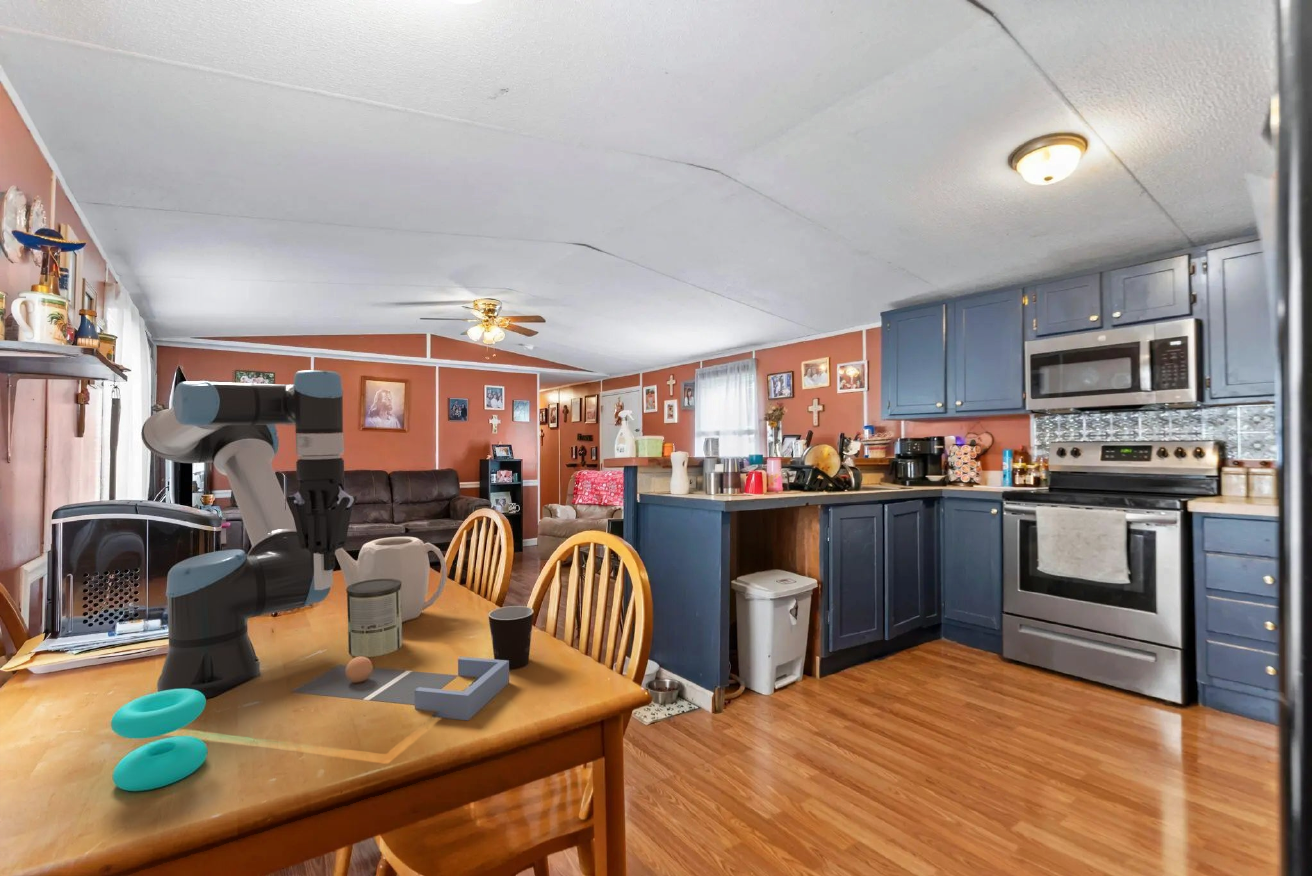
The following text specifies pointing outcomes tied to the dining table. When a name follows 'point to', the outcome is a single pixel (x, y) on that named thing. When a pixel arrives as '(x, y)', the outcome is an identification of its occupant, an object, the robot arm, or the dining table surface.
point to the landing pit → (474, 697)
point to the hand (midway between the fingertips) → (323, 587)
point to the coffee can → (374, 617)
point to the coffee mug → (511, 634)
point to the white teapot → (396, 569)
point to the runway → (375, 685)
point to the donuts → (162, 756)
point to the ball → (358, 669)
